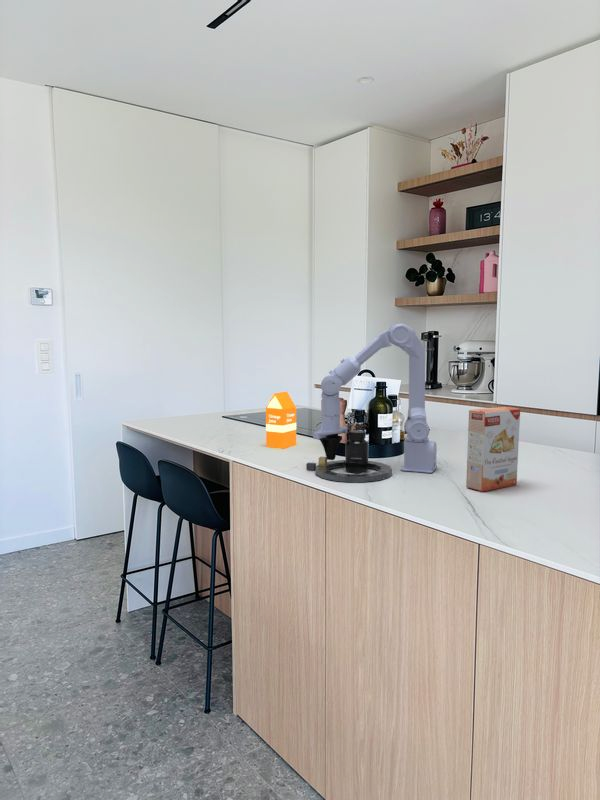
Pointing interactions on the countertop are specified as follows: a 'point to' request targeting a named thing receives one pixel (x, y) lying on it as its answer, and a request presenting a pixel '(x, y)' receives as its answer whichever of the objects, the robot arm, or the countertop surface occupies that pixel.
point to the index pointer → (311, 466)
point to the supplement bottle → (356, 452)
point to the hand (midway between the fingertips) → (330, 459)
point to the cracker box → (492, 448)
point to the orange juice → (281, 421)
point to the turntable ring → (324, 472)
